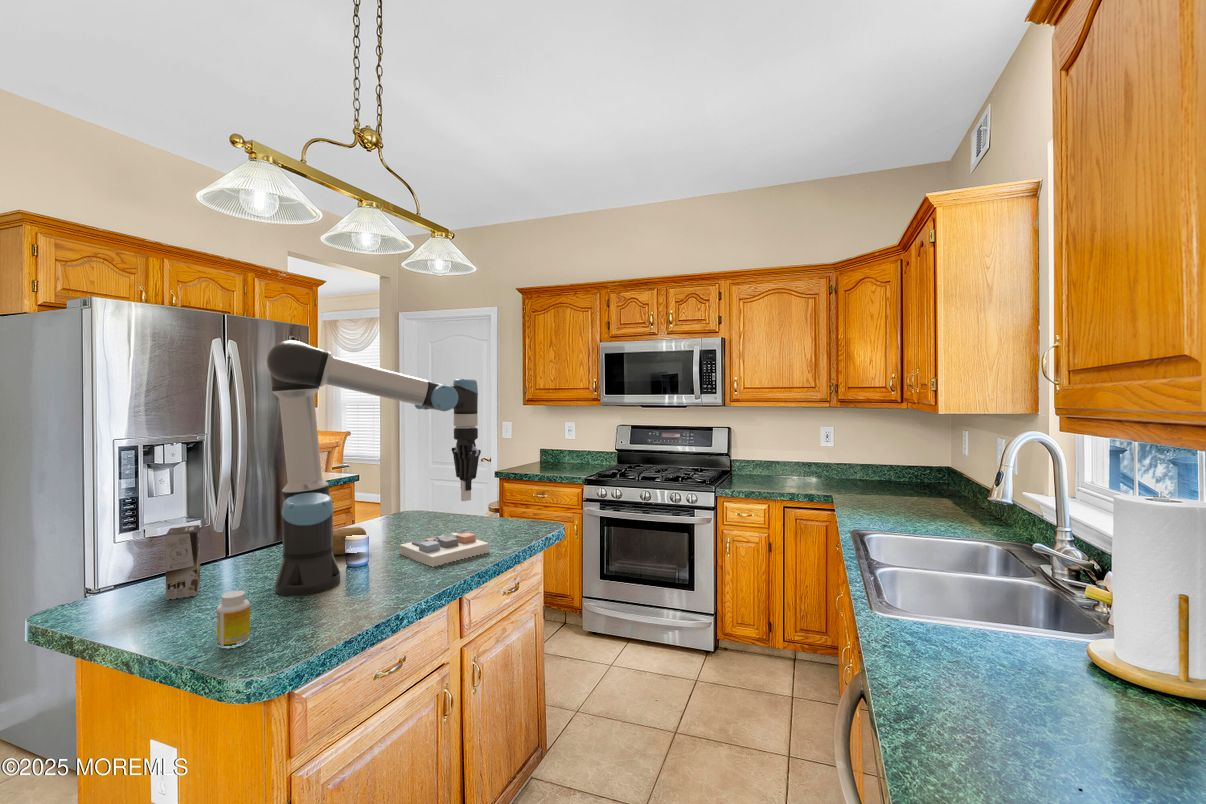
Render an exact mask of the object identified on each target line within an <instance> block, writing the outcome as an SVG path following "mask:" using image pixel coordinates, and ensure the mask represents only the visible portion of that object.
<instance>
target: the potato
mask: <svg viewBox="0 0 1206 804" xmlns="http://www.w3.org/2000/svg"><path fill="white" fill-rule="evenodd" d="M352 535H366V536H367V532H366V530H365V529H364V528H362V527H360V526H355V527H354V526H353V527H340V528H337V529H336V528H335V529H333V555H334V556H344V555H346V554H345V538H346V536H352Z"/></svg>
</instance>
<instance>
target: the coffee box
mask: <svg viewBox="0 0 1206 804" xmlns="http://www.w3.org/2000/svg"><path fill="white" fill-rule="evenodd" d="M200 525H201V524H195V525H186V526H179V527H171V528H169V529H168V531H167V532H166V534H165V601H170V600H169V599H172V600H176V598H178V599H184V598H183V597H185V598H191V597H190V596H193V597H196V595H198V592H199V589H200V587H201V541H200V540H201V536H200V535H201V534H200V531H201V530H200Z"/></svg>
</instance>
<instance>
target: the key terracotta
mask: <svg viewBox="0 0 1206 804" xmlns="http://www.w3.org/2000/svg"><path fill="white" fill-rule="evenodd" d="M476 535H477V534H475V533H471V532H463V533H458V535H456V538H458V542H459V543H462V544H466V543H470V542H474V541H476Z"/></svg>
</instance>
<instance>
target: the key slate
mask: <svg viewBox="0 0 1206 804" xmlns="http://www.w3.org/2000/svg"><path fill="white" fill-rule="evenodd" d="M419 550H420V551H422V552H425V553H429V552H433V551H437V550H440V543H439V542H436V541H433V540H431V541H426V542H422V543H419Z"/></svg>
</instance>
